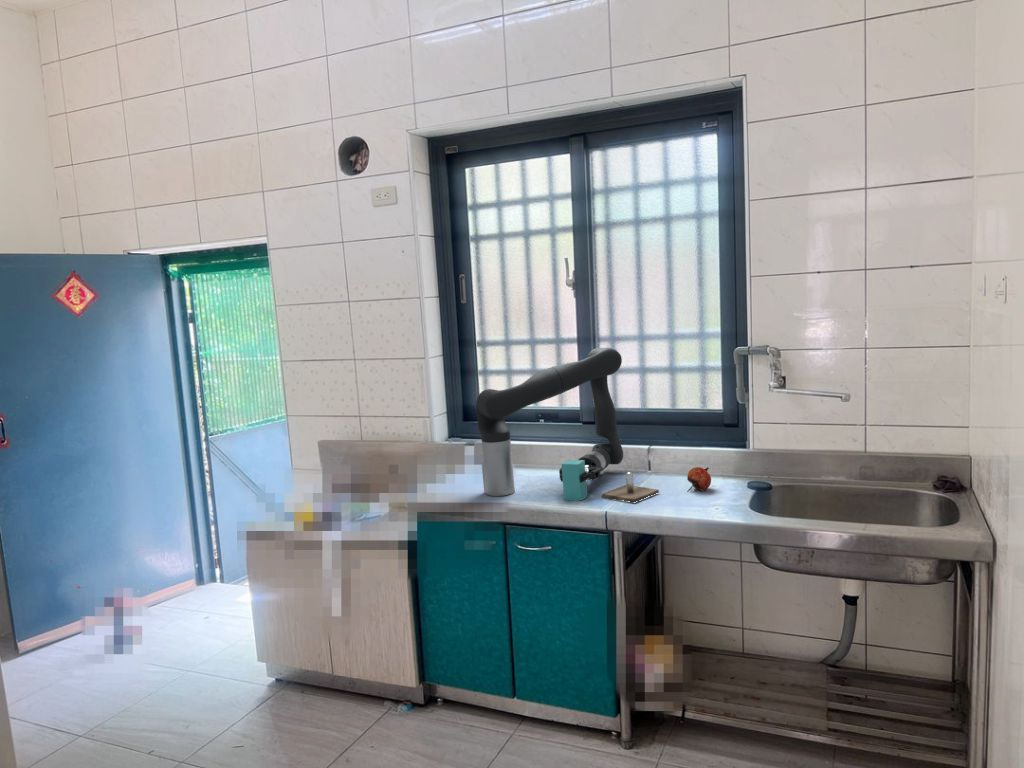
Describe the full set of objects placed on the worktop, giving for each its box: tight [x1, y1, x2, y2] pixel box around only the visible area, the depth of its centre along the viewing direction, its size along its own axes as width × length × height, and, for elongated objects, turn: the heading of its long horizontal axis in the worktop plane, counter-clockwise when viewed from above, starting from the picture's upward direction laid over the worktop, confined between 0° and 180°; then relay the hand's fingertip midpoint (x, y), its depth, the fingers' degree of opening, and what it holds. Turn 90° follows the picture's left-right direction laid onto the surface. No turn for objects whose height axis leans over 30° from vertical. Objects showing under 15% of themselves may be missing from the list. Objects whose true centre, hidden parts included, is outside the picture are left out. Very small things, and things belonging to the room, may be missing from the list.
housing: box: [561, 459, 588, 501], centre depth 220 cm, size 5×5×11 cm
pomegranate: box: [686, 466, 712, 493], centre depth 217 cm, size 7×7×10 cm
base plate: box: [601, 484, 660, 502], centre depth 218 cm, size 12×12×1 cm
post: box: [625, 471, 634, 493], centre depth 217 cm, size 2×2×6 cm
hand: (571, 478), depth 217 cm, fingers closed on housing, 5 cm apart
